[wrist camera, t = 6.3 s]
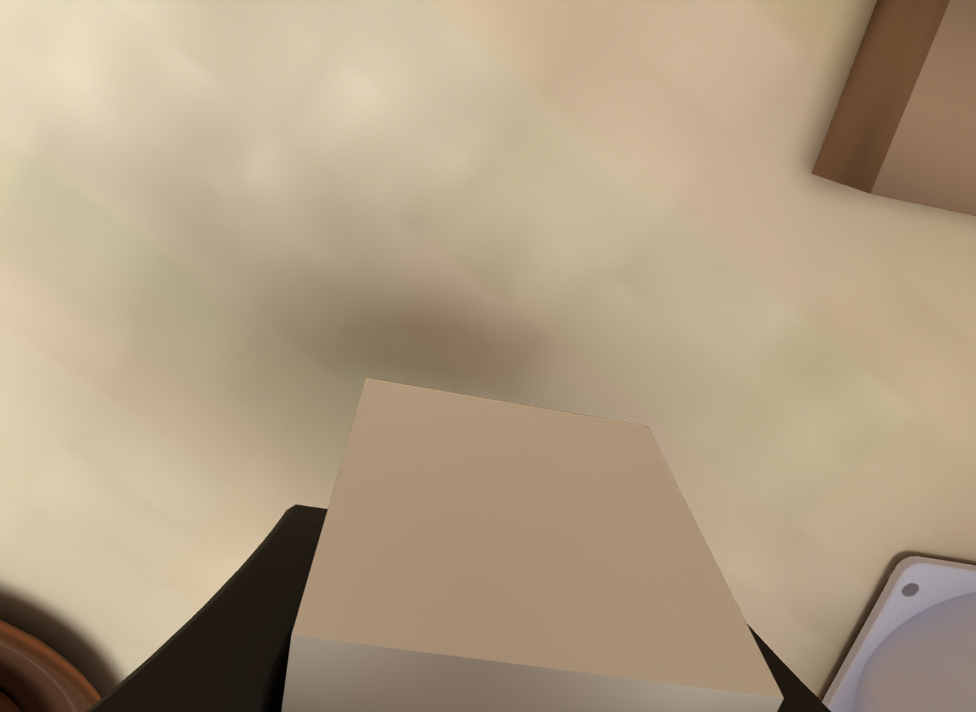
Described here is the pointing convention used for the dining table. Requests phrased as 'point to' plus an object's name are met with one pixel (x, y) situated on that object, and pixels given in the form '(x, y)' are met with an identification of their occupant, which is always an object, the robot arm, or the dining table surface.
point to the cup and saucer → (39, 677)
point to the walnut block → (910, 107)
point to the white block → (513, 571)
